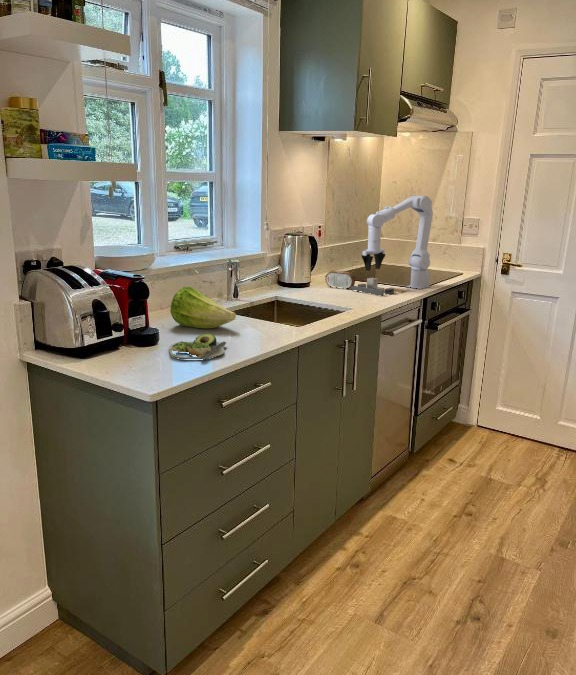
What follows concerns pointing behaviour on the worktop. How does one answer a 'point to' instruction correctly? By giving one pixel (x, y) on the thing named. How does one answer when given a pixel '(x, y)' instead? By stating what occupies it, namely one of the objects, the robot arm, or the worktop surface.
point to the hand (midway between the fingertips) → (372, 269)
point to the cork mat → (398, 290)
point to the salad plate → (199, 347)
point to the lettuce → (198, 310)
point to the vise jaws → (372, 290)
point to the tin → (340, 279)
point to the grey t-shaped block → (373, 284)
